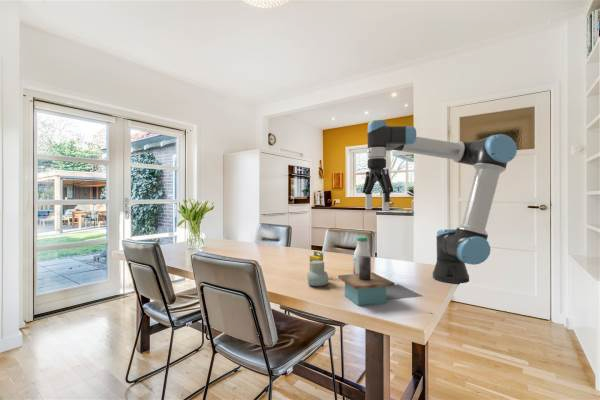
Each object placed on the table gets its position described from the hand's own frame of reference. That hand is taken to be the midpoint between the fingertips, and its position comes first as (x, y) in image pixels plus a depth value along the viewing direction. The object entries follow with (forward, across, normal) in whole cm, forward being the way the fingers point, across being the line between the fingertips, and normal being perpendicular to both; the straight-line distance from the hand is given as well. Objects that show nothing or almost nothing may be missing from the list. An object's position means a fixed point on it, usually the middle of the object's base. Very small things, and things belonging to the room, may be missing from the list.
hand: (376, 209), depth 125 cm
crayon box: (+33, -25, -18) cm, 45 cm away
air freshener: (+33, -12, -22) cm, 41 cm away
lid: (+26, +12, -12) cm, 31 cm away
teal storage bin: (+33, +12, -12) cm, 37 cm away
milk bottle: (+33, -11, -1) cm, 35 cm away
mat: (+33, +7, +3) cm, 34 cm away
